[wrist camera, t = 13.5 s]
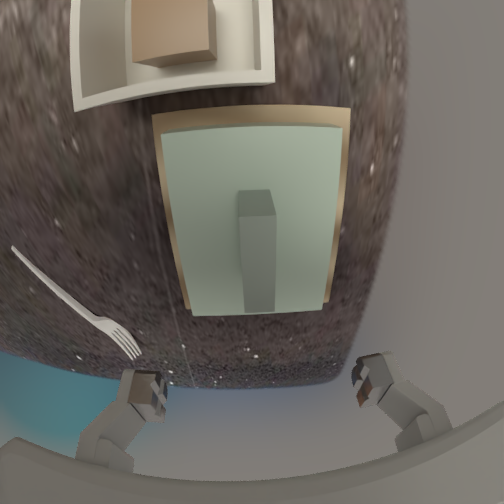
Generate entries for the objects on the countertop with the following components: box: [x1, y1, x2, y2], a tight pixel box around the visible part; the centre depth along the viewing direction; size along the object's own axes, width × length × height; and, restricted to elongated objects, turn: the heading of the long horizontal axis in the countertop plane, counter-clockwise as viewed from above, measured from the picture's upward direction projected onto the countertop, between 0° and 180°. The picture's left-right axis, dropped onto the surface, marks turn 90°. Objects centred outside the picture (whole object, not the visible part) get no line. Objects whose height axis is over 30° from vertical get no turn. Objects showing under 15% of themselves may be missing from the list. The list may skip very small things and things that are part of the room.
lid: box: [161, 122, 343, 316], centre depth 19 cm, size 15×11×6 cm
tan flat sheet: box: [152, 104, 351, 309], centre depth 22 cm, size 18×14×1 cm
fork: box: [11, 245, 142, 360], centre depth 26 cm, size 3×20×2 cm, turn 42°
